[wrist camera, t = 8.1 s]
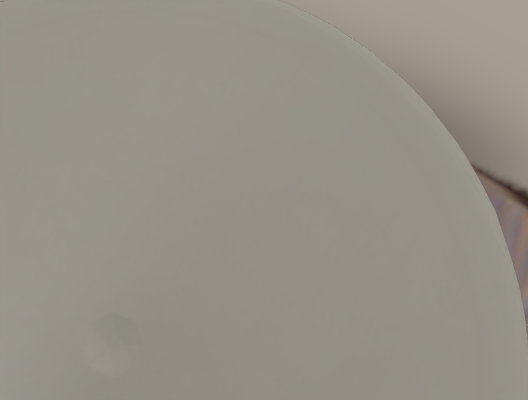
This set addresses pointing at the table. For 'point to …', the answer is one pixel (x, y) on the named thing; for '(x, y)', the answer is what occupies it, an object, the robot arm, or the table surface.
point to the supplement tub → (237, 215)
